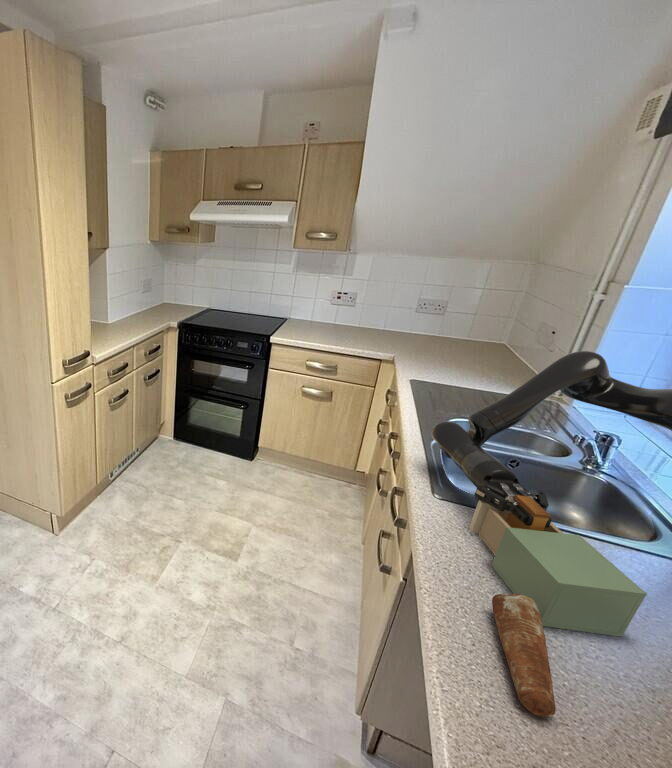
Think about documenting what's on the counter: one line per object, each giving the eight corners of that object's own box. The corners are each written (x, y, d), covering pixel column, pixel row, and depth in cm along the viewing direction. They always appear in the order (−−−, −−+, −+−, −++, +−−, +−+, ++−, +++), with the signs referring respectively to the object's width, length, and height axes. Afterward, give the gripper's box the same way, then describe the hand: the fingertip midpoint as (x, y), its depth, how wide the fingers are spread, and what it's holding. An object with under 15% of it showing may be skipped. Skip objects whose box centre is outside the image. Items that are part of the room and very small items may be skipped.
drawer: (455, 512, 97) (465, 484, 94) (508, 518, 96) (520, 490, 93) (503, 571, 80) (516, 539, 78) (568, 579, 79) (584, 547, 76)
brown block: (516, 527, 87) (529, 496, 84) (536, 548, 82) (550, 515, 79) (502, 526, 88) (515, 494, 85) (521, 546, 82) (535, 513, 79)
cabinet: (491, 565, 83) (506, 527, 80) (560, 574, 81) (579, 535, 78) (538, 625, 70) (558, 582, 67) (622, 637, 69) (647, 593, 65)
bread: (532, 624, 71) (543, 600, 69) (557, 730, 56) (573, 703, 54) (486, 606, 74) (496, 583, 72) (499, 702, 59) (511, 676, 57)
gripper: (459, 456, 95) (506, 502, 79) (526, 462, 93) (587, 511, 77) (450, 484, 98) (494, 534, 82) (515, 490, 96) (572, 543, 80)
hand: (539, 522), depth 80 cm, fingers closed on brown block, 2 cm apart
